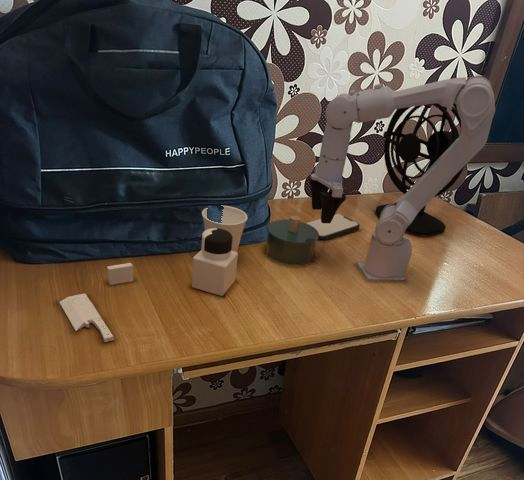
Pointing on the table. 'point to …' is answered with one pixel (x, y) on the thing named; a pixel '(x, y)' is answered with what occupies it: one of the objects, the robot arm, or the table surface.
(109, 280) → the eraser
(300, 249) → the canister
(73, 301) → the butcher knife
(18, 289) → the table surface
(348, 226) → the phone case
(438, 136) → the desk fan
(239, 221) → the cup
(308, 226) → the lid
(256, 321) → the table surface
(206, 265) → the medicine bottle
